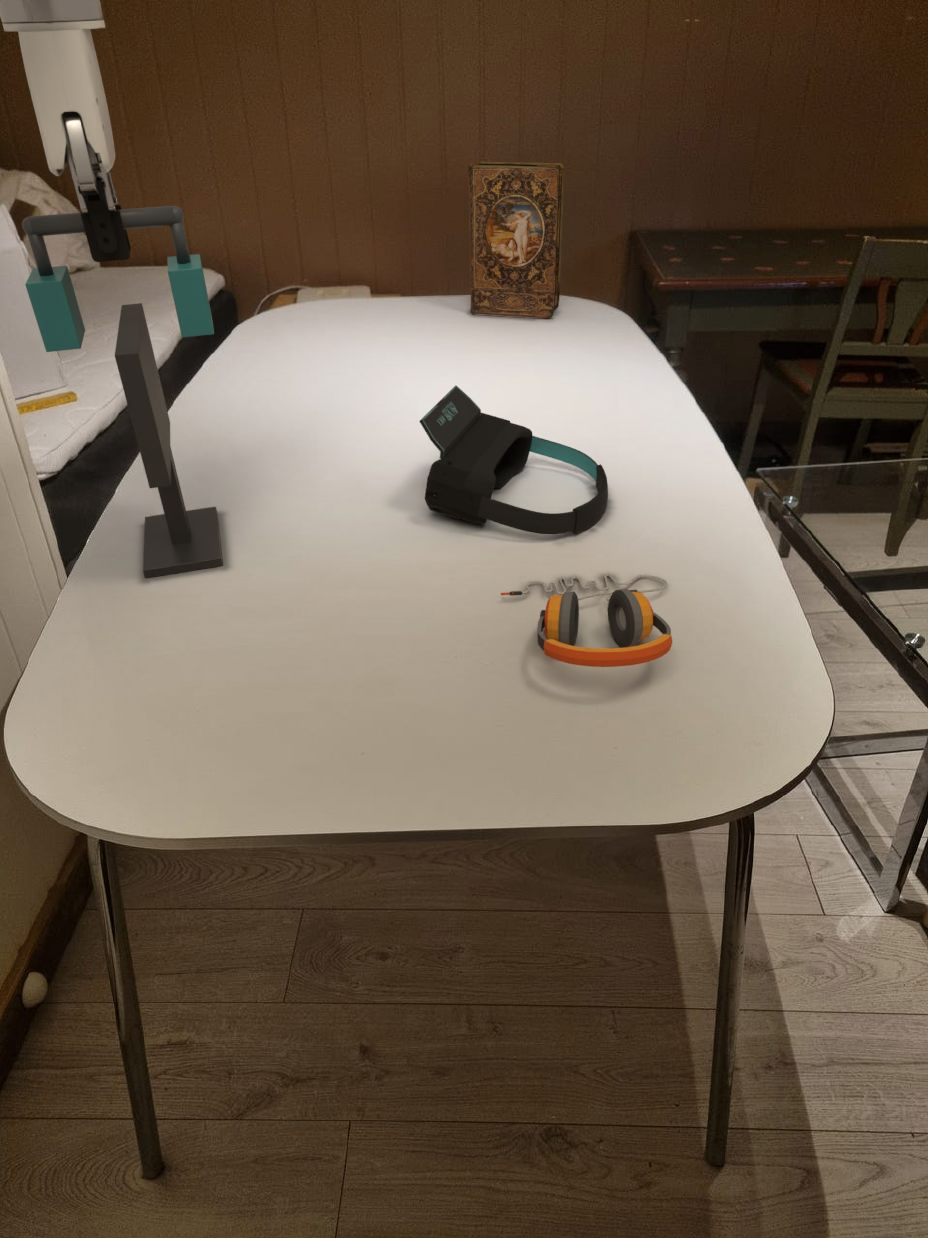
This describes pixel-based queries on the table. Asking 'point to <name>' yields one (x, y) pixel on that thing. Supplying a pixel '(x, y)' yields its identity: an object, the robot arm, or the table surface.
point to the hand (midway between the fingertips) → (112, 255)
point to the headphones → (626, 623)
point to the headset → (57, 293)
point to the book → (515, 238)
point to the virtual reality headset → (496, 468)
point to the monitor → (161, 460)
